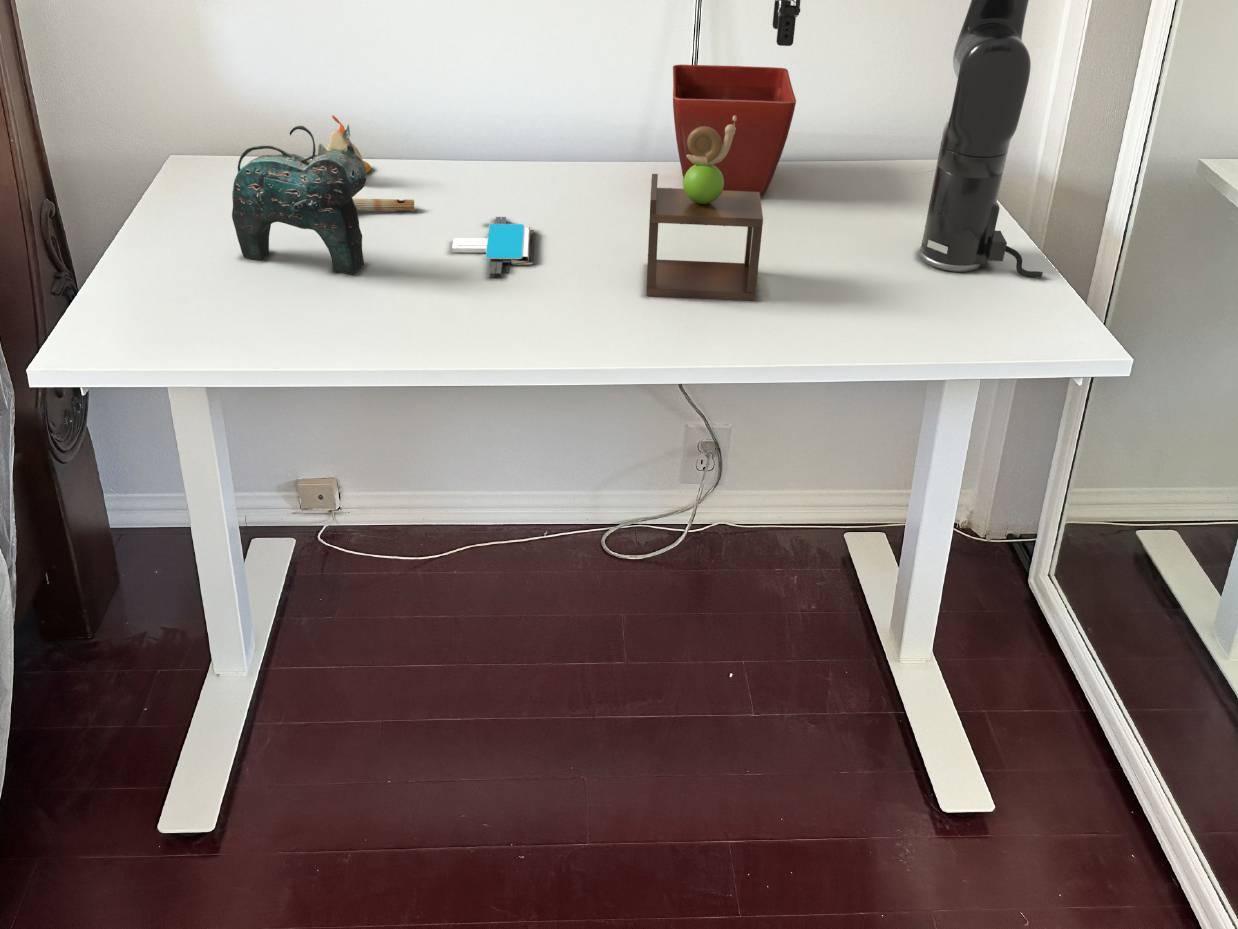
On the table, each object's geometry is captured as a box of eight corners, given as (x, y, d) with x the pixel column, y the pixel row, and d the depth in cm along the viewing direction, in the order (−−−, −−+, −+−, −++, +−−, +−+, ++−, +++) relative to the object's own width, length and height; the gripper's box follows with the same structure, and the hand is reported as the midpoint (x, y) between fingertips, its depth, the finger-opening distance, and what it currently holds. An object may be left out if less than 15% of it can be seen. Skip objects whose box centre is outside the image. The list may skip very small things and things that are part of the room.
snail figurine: (729, 212, 156) (736, 123, 149) (681, 209, 156) (686, 120, 149) (730, 196, 160) (737, 109, 153) (683, 193, 161) (688, 106, 154)
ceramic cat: (378, 264, 168) (364, 126, 156) (358, 283, 162) (342, 142, 151) (254, 245, 172) (231, 109, 160) (230, 263, 167) (205, 124, 155)
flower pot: (667, 160, 205) (672, 62, 195) (777, 164, 204) (787, 66, 195) (667, 202, 189) (672, 98, 180) (785, 206, 189) (797, 102, 179)
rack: (751, 270, 169) (760, 177, 161) (754, 300, 161) (764, 204, 153) (647, 266, 169) (652, 173, 161) (646, 296, 161) (650, 199, 153)
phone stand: (457, 220, 181) (457, 210, 180) (534, 221, 181) (534, 211, 181) (447, 277, 164) (447, 266, 164) (532, 278, 165) (532, 267, 164)
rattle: (391, 179, 194) (385, 110, 188) (348, 190, 190) (341, 121, 183) (366, 166, 199) (359, 99, 192) (324, 177, 194) (315, 109, 187)
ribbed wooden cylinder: (283, 188, 181) (414, 192, 184) (285, 205, 183) (414, 209, 185) (280, 198, 178) (413, 202, 181) (282, 215, 180) (413, 218, 182)
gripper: (830, -81, 145) (814, 52, 155) (819, -101, 157) (805, 24, 166) (769, -83, 146) (757, 50, 155) (763, -103, 157) (752, 22, 167)
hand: (782, 36), depth 161 cm, fingers open, 8 cm apart
